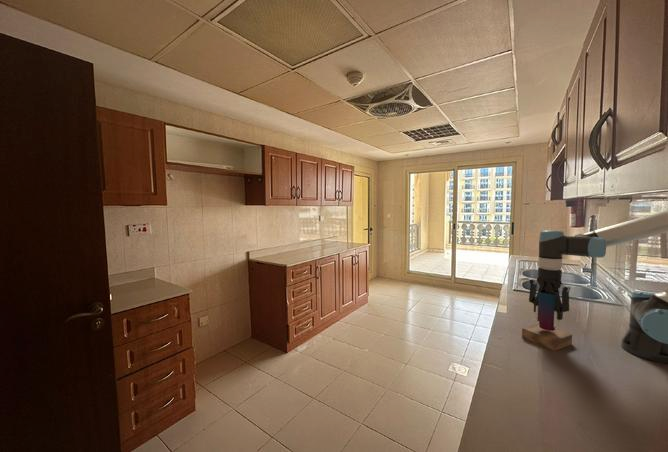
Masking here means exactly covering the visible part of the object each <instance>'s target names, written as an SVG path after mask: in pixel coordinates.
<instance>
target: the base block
mask: <svg viewBox="0 0 668 452" xmlns="http://www.w3.org/2000/svg"><path fill="white" fill-rule="evenodd" d="M521 330H522V331H521V338H522V339H525V340H527V341H530V342H531V343H535V344H537V345H540V346H542V347H544V348H546V349H550V350H552V351H554V352H556V351H558V350H560V349H563V348H566V347H570V346H572V343H573V334H571V333H569V332H565V331H563V330H559V329H557V328H555V330H554V331H549V330H544V329H542V328H540V327H539V322H537V323H535V324H532V325H529V326H526V327H522V329H521Z"/></svg>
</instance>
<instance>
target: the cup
mask: <svg viewBox="0 0 668 452" xmlns="http://www.w3.org/2000/svg"><path fill="white" fill-rule="evenodd" d="M537 293H538V302H539V321H538V323H539V327H540V328H542V329H544V330H549V331H554V330H555V329H556V328H555V327H554V311H557V310H556V306H555V300H556V297H559V296H560V293H559V294H558V295H552V294H551V292H550V291H548V290H546V291H545V293H541V292H539V289H538V291H537Z"/></svg>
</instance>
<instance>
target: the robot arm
mask: <svg viewBox="0 0 668 452" xmlns="http://www.w3.org/2000/svg"><path fill="white" fill-rule="evenodd" d="M667 233H668V209H666V210H663V211H659V212H656V213H653V214H649V215H648V214H647V215H645V216H642V217H637V218H634V219H631V220H627V221H623V222H620V223H617V224H612V225H609V226H605V227H602V228H599V229H595V230H591V231H587V232H584V233H578V234H575V235H574V236H571V235H570V236H569V235H565V234H564V231H562V230H556V229H555V230H553V229H545V230H541V231H540V233H539V240H538V262H537V263H538V264H537V266H538V269H537V277H536V279H535V278H532V279H529V285H530V287H529V296H528V297H529V298H528V302H529V303H532V305H533V312H534V313H535V318H534V319H535V322H539V302H538V292H537V289H538V290H539V292H541V293H545V291H546V290H548V291H550V292H551V294H552V295H558V294H559V297H556V300H555V306H556V310H557V311H554V327H555V329H557V328H559V327H561V326H560V324H561V320H563V318H564V317H563V316H564V313H566V312H569V311H570V290H571V286H569V285H568V286H567V285H565V284H563V282H562V272H563V271H562V270H561V269H562V268H563V255H564V256H575V257H576V256H577V257H585V258H586V257H587V258H592V259H594V258H604V257H605V256H606V255H607V248H608V247H609V248H610V247H613V246H617V245H621V244H622V245H623V244H626V243H630V242H633V241H637V240H642V239H647V238H651V237H655V236H658V235H664V234H667ZM538 284H539V285H538ZM538 286H539V287H538ZM559 289H560V290H561V297H560V290H559ZM629 299H630V308H629V309H630V310H629V311H630V312H629V321H628V322H629V324H628V325H629V326H628V328H627V331H626V332H625V334H624V336H623V337H622V339H621V342H620V343H621V345H620V346H621V348H622V349H623V350H625V351H626V352H627V353H631V354H632V355H635V356H637V357H640V358H642V359H647V360H649V361H654V362H656V363H657V362H658V363H661V364H668V285H666V287H665V289H664V290H663V291H659V292H652V291H651V292H650V291H641V290H639V291H638V290H635V291H632V292H631V296H630V298H629Z"/></svg>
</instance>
